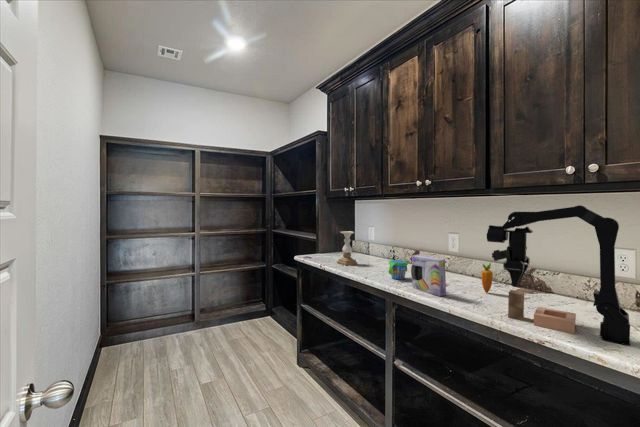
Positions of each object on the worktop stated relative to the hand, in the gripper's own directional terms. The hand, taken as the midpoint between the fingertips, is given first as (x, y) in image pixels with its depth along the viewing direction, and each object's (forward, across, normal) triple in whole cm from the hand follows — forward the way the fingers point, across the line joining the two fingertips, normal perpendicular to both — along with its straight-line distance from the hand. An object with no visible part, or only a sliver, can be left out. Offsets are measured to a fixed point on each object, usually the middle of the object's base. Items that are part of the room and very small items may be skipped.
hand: (516, 284), depth 120 cm
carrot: (+13, -30, -17) cm, 37 cm away
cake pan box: (+13, -13, -40) cm, 44 cm away
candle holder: (+13, -45, -113) cm, 122 cm away
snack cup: (+13, -29, -64) cm, 71 cm away
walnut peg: (+13, 0, 0) cm, 13 cm away
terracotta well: (+13, -1, +12) cm, 18 cm away
